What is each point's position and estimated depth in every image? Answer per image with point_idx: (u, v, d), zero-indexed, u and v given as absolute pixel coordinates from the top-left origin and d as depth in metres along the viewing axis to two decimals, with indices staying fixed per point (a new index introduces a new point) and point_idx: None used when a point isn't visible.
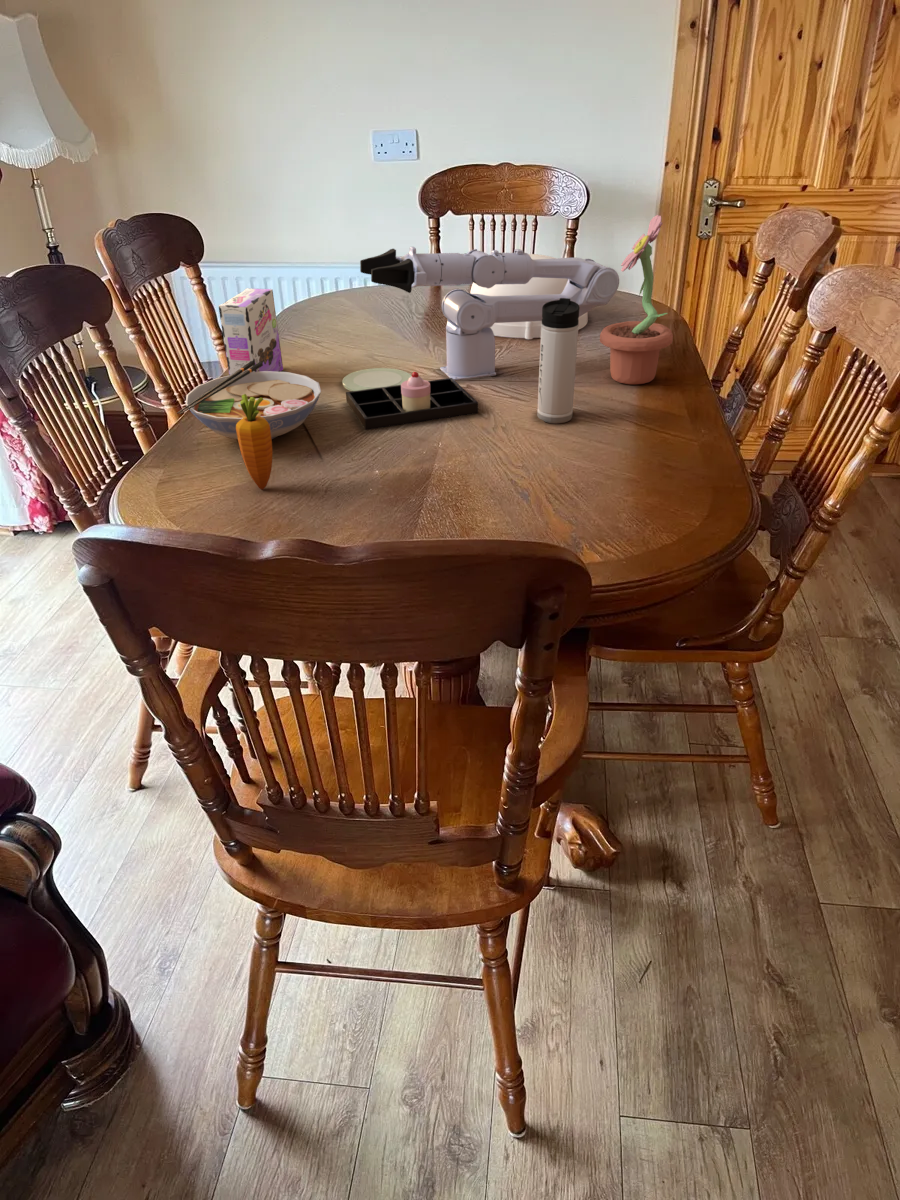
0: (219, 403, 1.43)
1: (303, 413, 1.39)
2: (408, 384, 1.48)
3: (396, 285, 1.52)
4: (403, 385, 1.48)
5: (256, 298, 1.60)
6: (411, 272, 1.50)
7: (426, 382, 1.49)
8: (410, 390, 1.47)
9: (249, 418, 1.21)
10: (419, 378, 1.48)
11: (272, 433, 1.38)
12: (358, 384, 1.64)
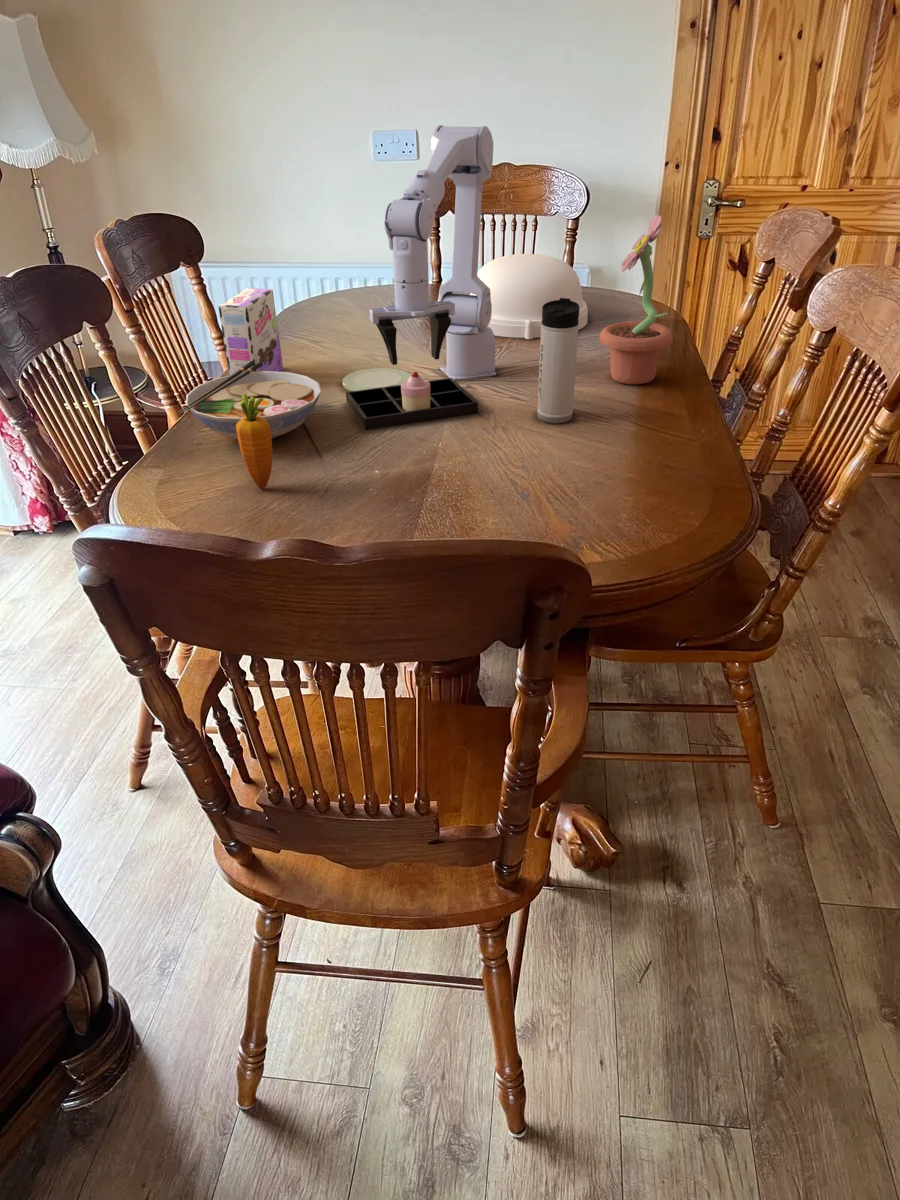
0: (219, 403, 1.43)
1: (303, 413, 1.39)
2: (408, 384, 1.48)
3: None
4: (403, 385, 1.48)
5: (256, 298, 1.60)
6: None
7: (426, 382, 1.49)
8: (410, 390, 1.47)
9: (249, 418, 1.21)
10: (419, 378, 1.48)
11: (272, 433, 1.38)
12: (358, 384, 1.64)
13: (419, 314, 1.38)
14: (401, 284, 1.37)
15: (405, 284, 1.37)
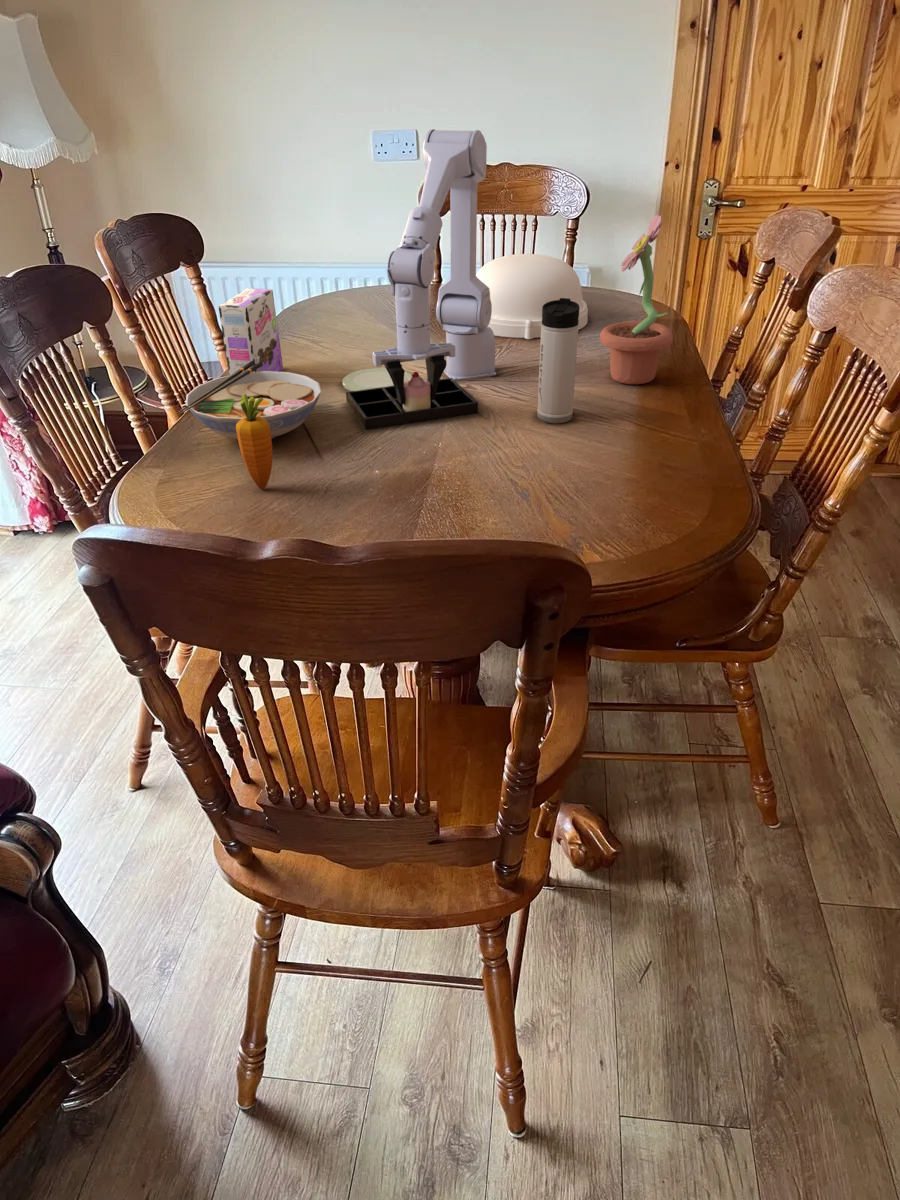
0: (219, 403, 1.43)
1: (303, 413, 1.39)
2: (408, 384, 1.48)
3: None
4: None
5: (256, 298, 1.60)
6: None
7: (426, 382, 1.49)
8: (410, 390, 1.47)
9: (249, 418, 1.21)
10: (419, 378, 1.48)
11: (272, 433, 1.38)
12: (358, 384, 1.64)
13: (421, 357, 1.42)
14: (403, 329, 1.41)
15: (407, 329, 1.41)
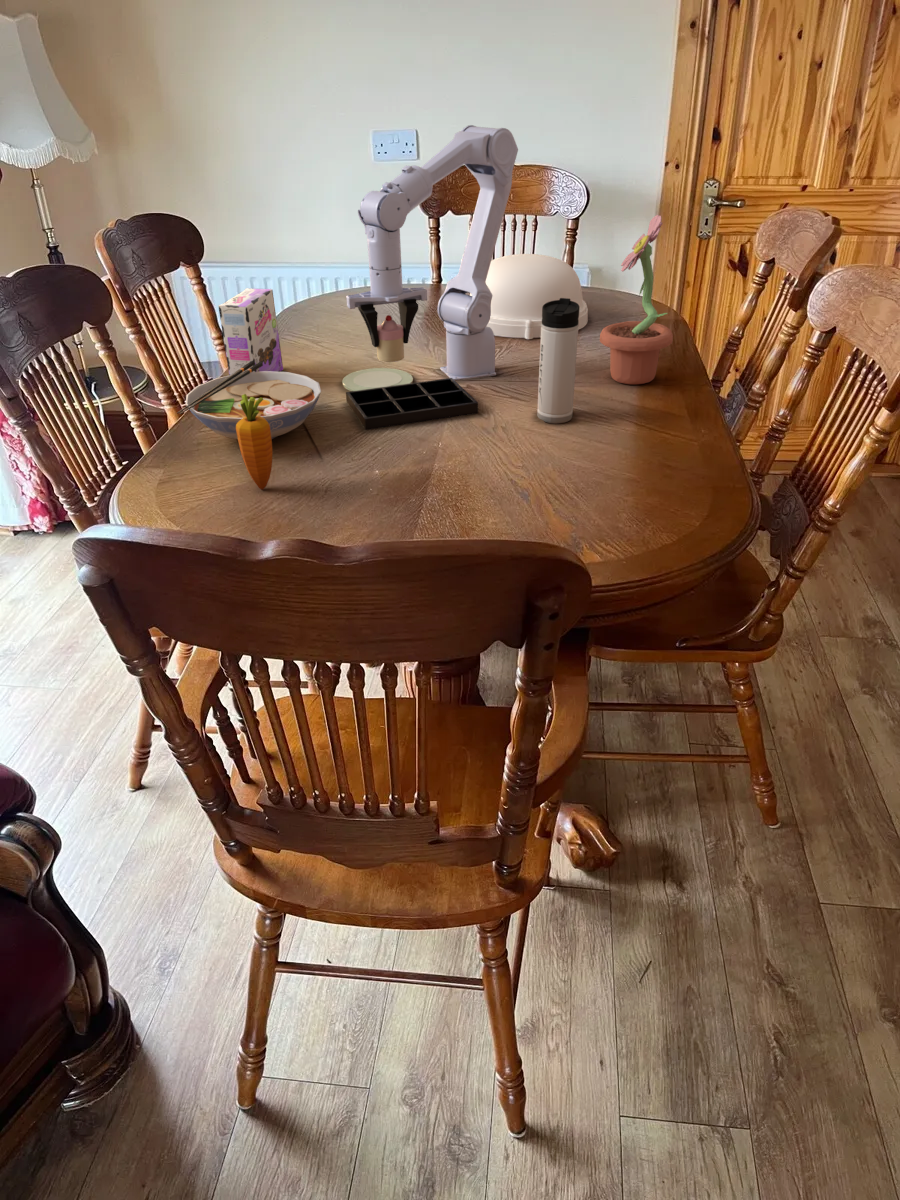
0: (219, 403, 1.43)
1: (303, 413, 1.39)
2: (382, 327, 1.53)
3: None
4: (377, 328, 1.53)
5: (256, 298, 1.60)
6: None
7: (399, 326, 1.54)
8: (384, 333, 1.52)
9: (249, 418, 1.21)
10: (392, 321, 1.53)
11: (272, 433, 1.38)
12: (358, 384, 1.64)
13: (393, 299, 1.47)
14: (375, 271, 1.46)
15: (379, 271, 1.46)
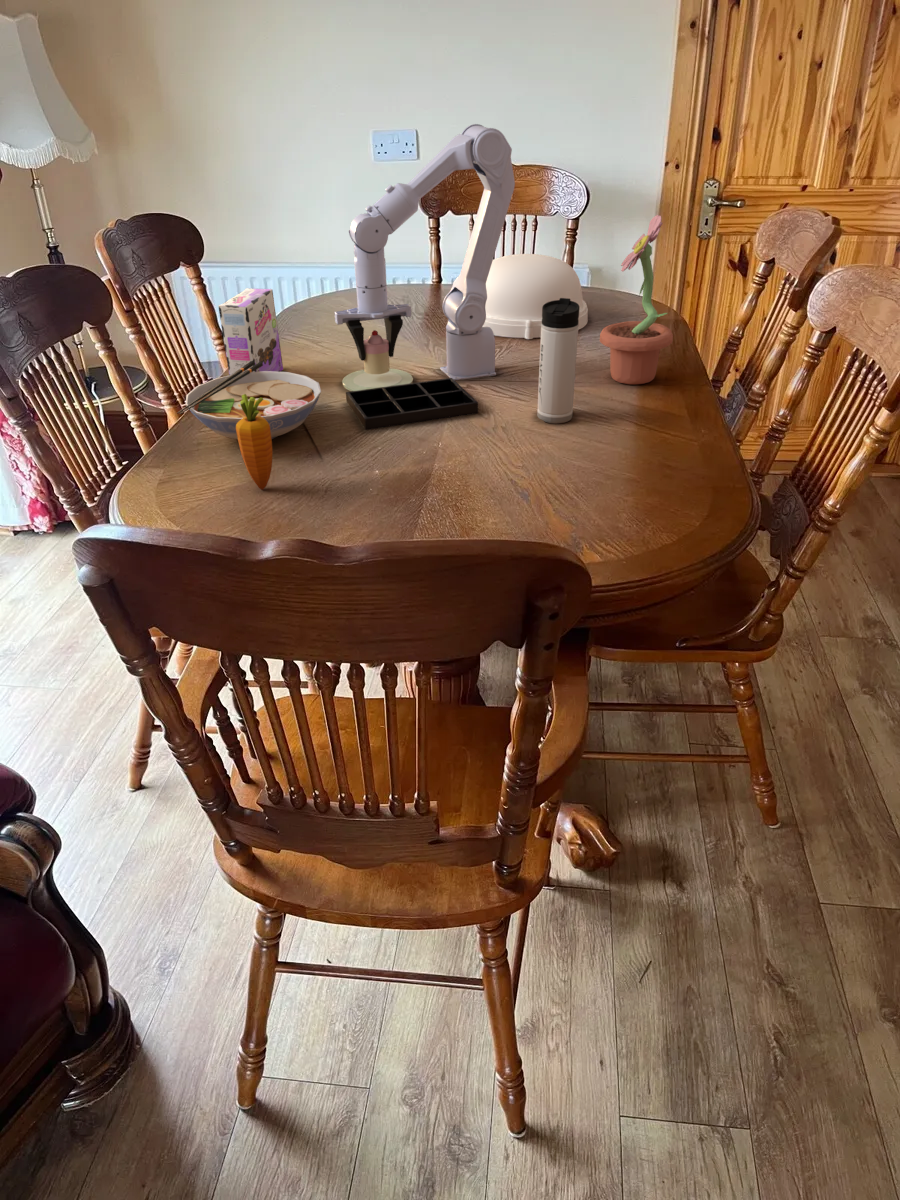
0: (219, 403, 1.43)
1: (303, 413, 1.39)
2: (368, 342, 1.61)
3: None
4: (364, 342, 1.62)
5: (256, 298, 1.60)
6: None
7: (385, 340, 1.63)
8: (370, 347, 1.60)
9: (249, 418, 1.21)
10: (378, 336, 1.61)
11: (272, 433, 1.38)
12: (358, 384, 1.64)
13: (378, 316, 1.56)
14: (362, 289, 1.54)
15: (365, 289, 1.54)
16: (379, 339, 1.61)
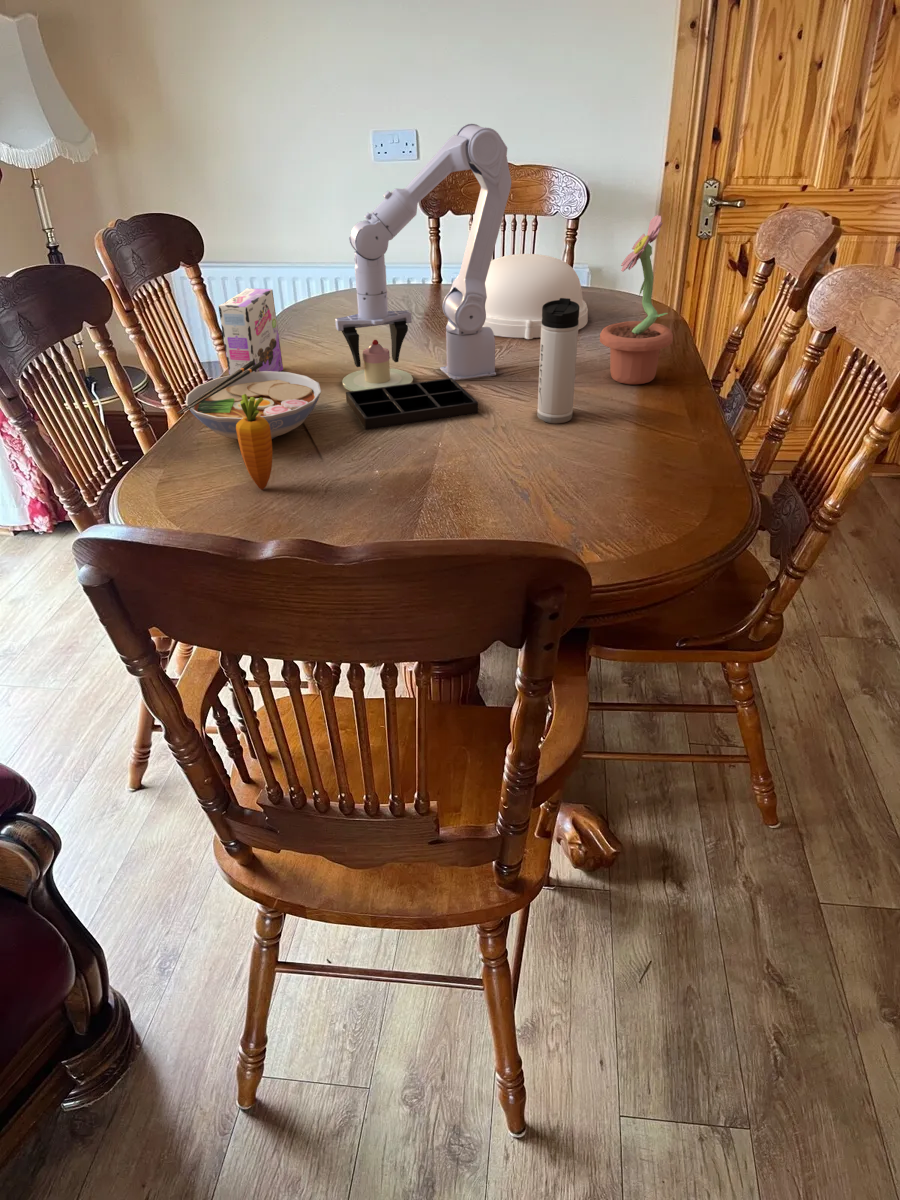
0: (219, 403, 1.43)
1: (303, 413, 1.39)
2: (369, 351, 1.62)
3: None
4: (364, 352, 1.63)
5: (256, 298, 1.60)
6: None
7: (385, 349, 1.64)
8: (370, 356, 1.61)
9: (249, 418, 1.21)
10: (379, 345, 1.62)
11: (272, 433, 1.38)
12: (358, 384, 1.64)
13: (378, 322, 1.56)
14: (362, 296, 1.55)
15: (366, 296, 1.55)
16: (380, 348, 1.62)
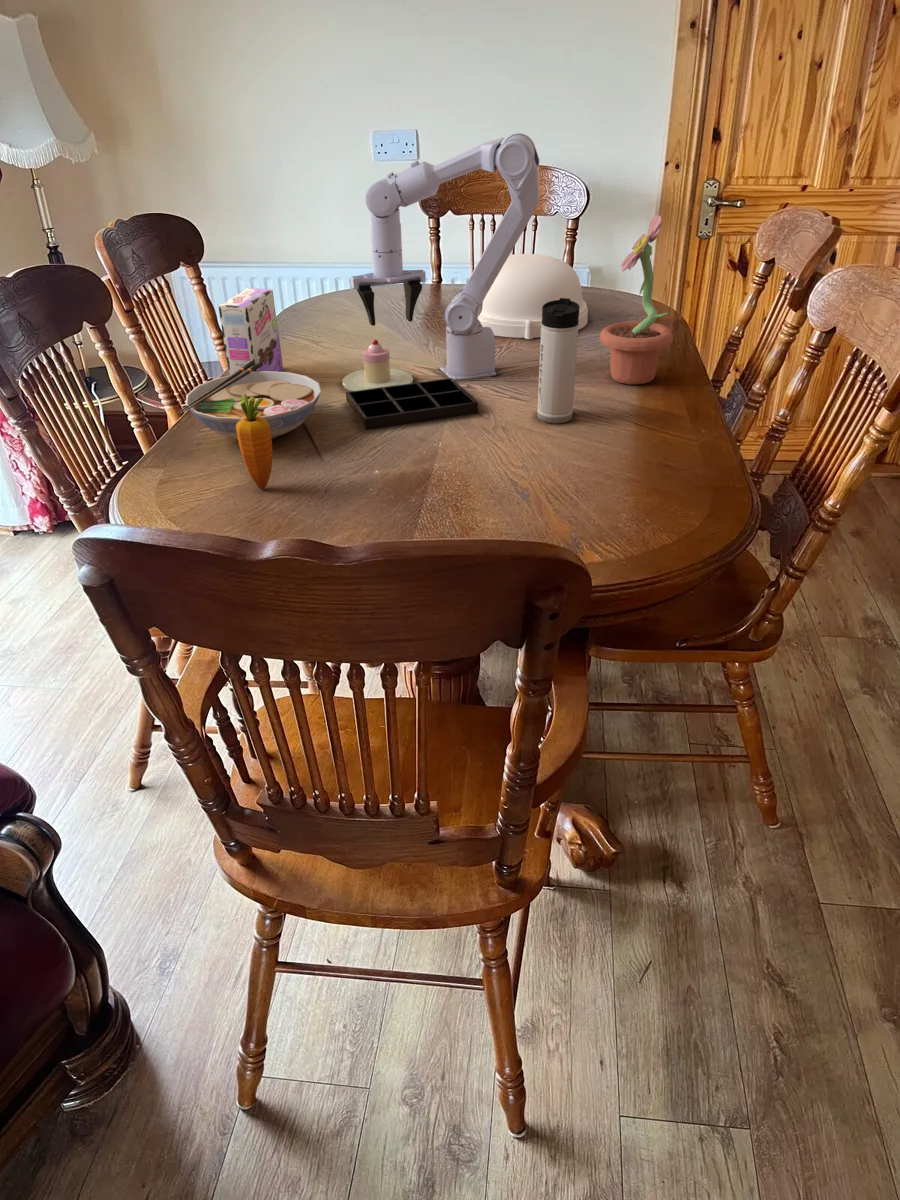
0: (219, 403, 1.43)
1: (303, 413, 1.39)
2: (369, 351, 1.62)
3: None
4: (364, 352, 1.63)
5: (256, 298, 1.60)
6: None
7: (385, 349, 1.64)
8: (370, 356, 1.61)
9: (249, 418, 1.21)
10: (379, 345, 1.62)
11: (272, 433, 1.38)
12: (358, 384, 1.64)
13: (393, 280, 1.59)
14: (378, 254, 1.58)
15: (381, 254, 1.58)
16: (380, 348, 1.62)
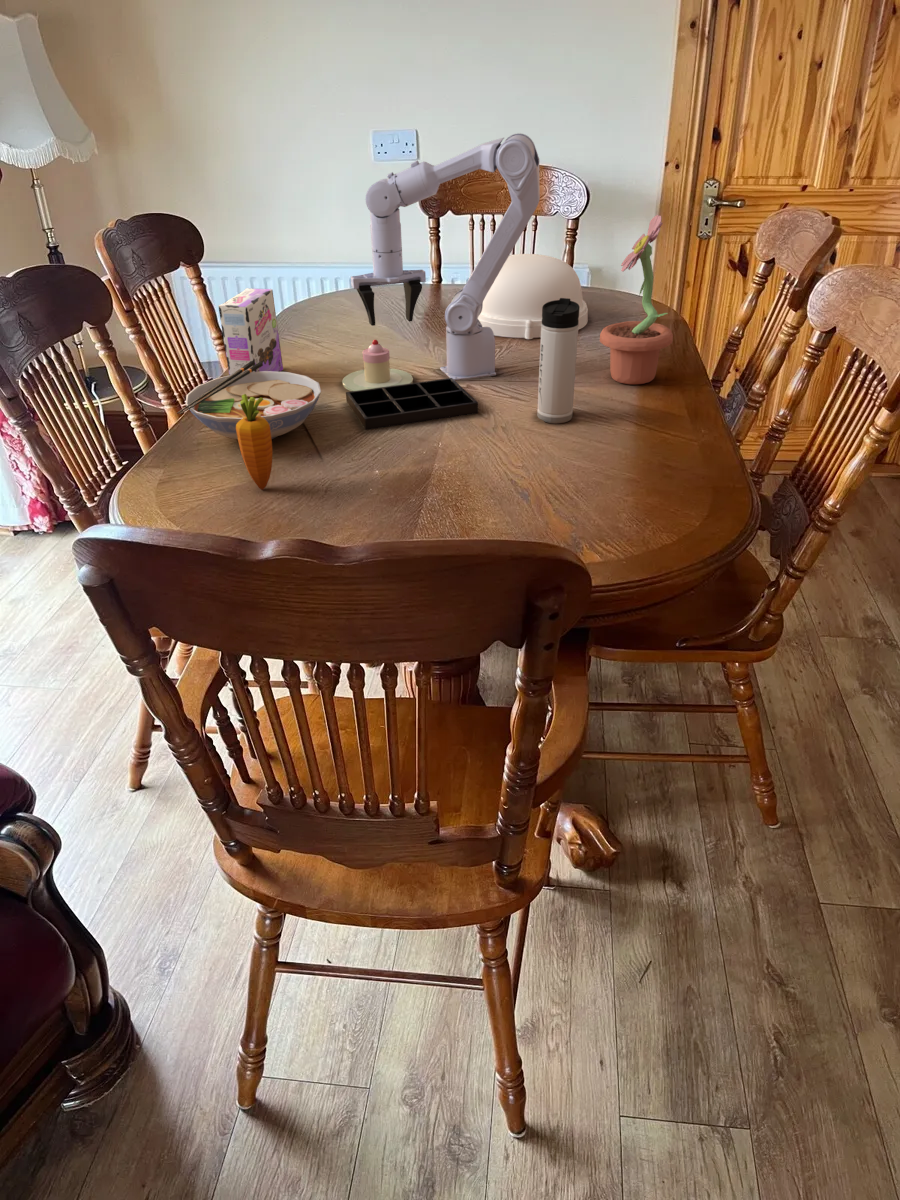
0: (219, 403, 1.43)
1: (303, 413, 1.39)
2: (369, 351, 1.62)
3: None
4: (364, 352, 1.63)
5: (256, 298, 1.60)
6: None
7: (385, 349, 1.64)
8: (370, 356, 1.61)
9: (249, 418, 1.21)
10: (379, 345, 1.62)
11: (272, 433, 1.38)
12: (358, 384, 1.64)
13: (393, 280, 1.59)
14: (378, 254, 1.58)
15: (381, 254, 1.58)
16: (380, 348, 1.62)
